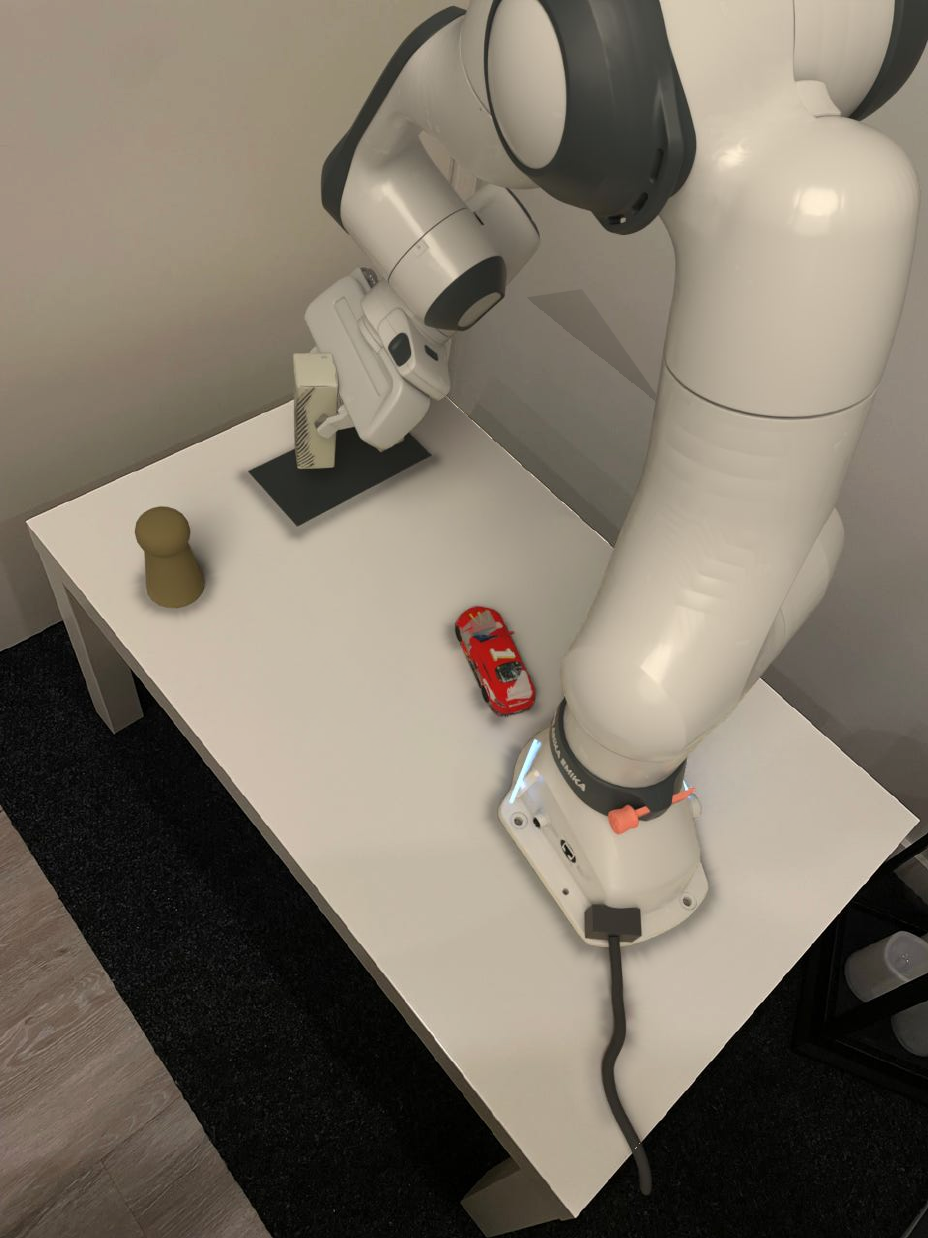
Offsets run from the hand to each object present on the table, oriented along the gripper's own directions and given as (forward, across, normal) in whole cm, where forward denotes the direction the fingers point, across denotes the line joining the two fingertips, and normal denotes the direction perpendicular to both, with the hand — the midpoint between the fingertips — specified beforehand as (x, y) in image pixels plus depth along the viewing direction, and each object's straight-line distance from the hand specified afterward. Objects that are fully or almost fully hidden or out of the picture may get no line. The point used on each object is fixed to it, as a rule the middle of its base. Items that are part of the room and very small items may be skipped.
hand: (309, 409), depth 94 cm
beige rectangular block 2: (-1, -4, +16) cm, 17 cm away
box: (+5, 0, +6) cm, 7 cm away
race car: (+1, +30, +16) cm, 34 cm away
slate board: (+5, -1, +12) cm, 13 cm away
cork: (+21, +10, -4) cm, 24 cm away
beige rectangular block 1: (+1, -3, +14) cm, 15 cm away
